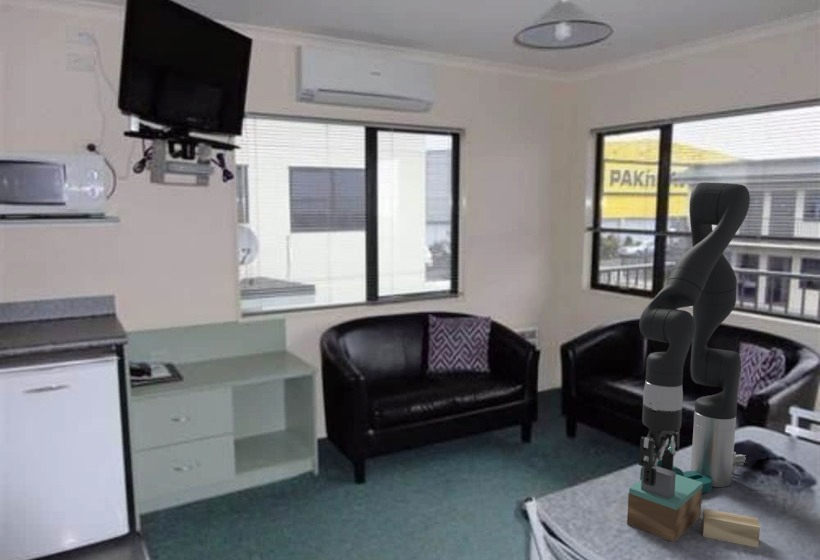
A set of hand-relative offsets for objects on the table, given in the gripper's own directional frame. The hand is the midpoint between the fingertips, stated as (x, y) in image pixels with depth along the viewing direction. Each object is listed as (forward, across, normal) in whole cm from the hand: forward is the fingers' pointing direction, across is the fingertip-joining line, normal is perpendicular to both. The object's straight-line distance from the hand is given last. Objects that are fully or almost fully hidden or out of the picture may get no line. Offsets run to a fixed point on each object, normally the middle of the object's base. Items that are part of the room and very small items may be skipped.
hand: (658, 478), depth 126 cm
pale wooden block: (+12, -8, +12) cm, 19 cm away
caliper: (+11, -49, +3) cm, 50 cm away
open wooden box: (+11, -5, 0) cm, 12 cm away
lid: (+4, -5, 0) cm, 6 cm away
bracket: (+11, -21, -4) cm, 24 cm away
